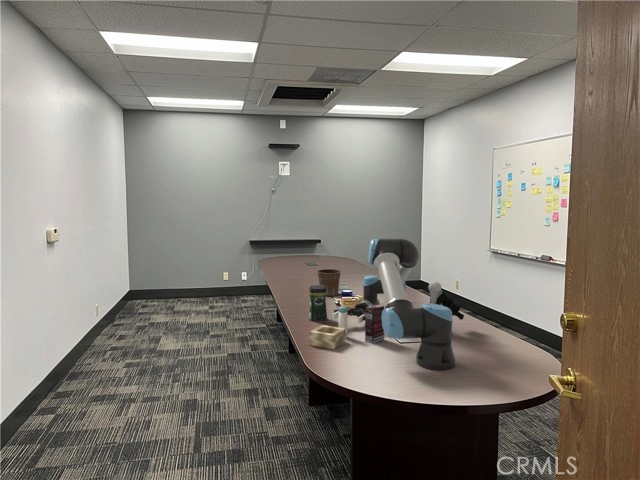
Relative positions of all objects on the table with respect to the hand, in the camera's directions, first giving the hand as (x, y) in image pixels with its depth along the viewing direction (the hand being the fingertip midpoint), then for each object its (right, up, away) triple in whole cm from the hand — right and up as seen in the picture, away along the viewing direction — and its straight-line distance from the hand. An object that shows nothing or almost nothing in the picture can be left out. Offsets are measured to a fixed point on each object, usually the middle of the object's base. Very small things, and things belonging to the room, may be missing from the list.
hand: (345, 318), depth 222 cm
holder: (-9, -9, -13) cm, 18 cm away
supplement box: (+13, -9, -8) cm, 18 cm away
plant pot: (-6, 0, +91) cm, 91 cm away
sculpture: (+48, -8, +7) cm, 49 cm away
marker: (-2, -8, -3) cm, 9 cm away
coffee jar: (-13, -5, +28) cm, 31 cm away
